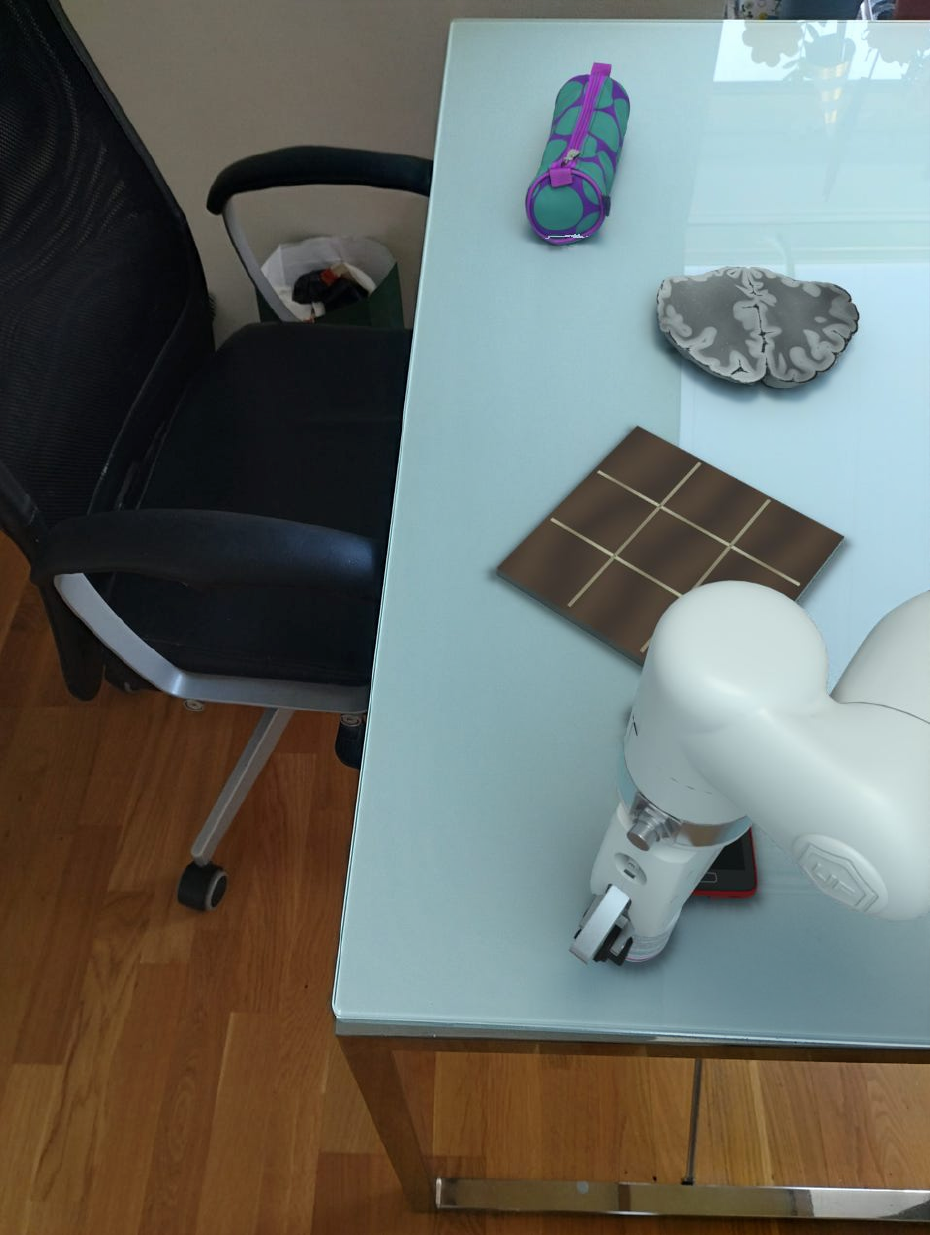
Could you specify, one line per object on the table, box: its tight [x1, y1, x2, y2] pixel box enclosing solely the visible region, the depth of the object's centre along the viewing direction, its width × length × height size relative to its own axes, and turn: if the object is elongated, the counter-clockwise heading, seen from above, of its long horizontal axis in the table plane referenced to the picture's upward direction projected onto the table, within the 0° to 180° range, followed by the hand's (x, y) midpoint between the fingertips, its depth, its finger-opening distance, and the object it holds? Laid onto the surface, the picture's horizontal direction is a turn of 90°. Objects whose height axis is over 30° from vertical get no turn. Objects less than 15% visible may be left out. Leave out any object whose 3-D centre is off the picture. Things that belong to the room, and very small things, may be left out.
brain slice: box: [656, 266, 861, 389], centre depth 103 cm, size 20×17×3 cm
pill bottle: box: [616, 906, 683, 963], centre depth 68 cm, size 5×5×8 cm
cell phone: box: [688, 825, 759, 900], centre depth 76 cm, size 8×15×1 cm, turn 178°
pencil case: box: [524, 61, 631, 246], centre depth 115 cm, size 21×9×10 cm, turn 168°
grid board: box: [496, 425, 845, 668], centre depth 89 cm, size 21×21×1 cm
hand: (644, 888), depth 68 cm, fingers open, 9 cm apart
